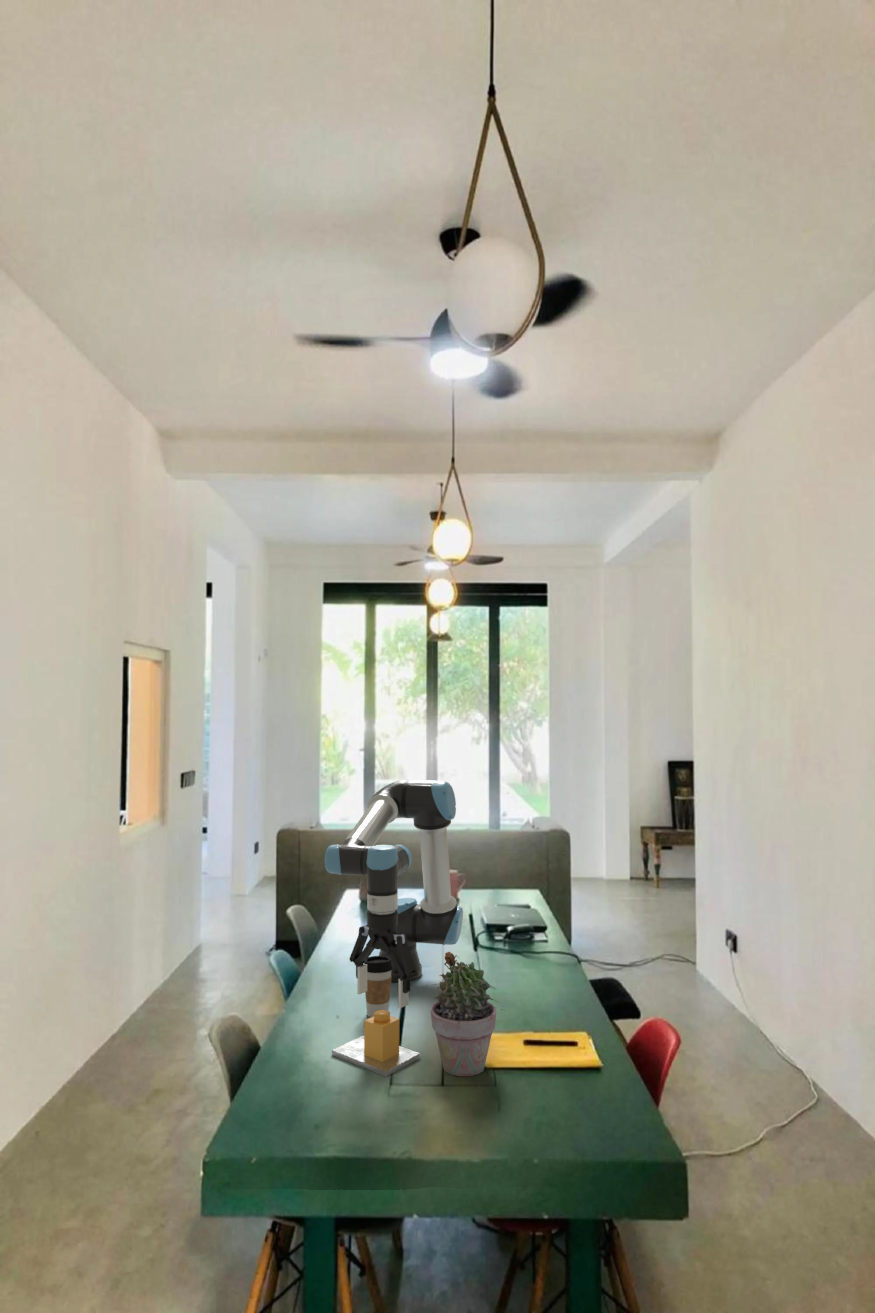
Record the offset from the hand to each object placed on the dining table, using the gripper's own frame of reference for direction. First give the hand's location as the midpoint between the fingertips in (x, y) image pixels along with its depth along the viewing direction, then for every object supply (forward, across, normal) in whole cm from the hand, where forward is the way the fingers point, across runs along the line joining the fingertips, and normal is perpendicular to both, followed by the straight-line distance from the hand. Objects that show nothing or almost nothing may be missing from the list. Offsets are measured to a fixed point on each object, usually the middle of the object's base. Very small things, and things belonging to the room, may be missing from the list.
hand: (382, 999), depth 184 cm
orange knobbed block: (+13, 0, -1) cm, 13 cm away
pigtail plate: (+14, -2, -1) cm, 14 cm away
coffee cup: (+15, -20, +19) cm, 31 cm away
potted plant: (+14, +19, +8) cm, 25 cm away
